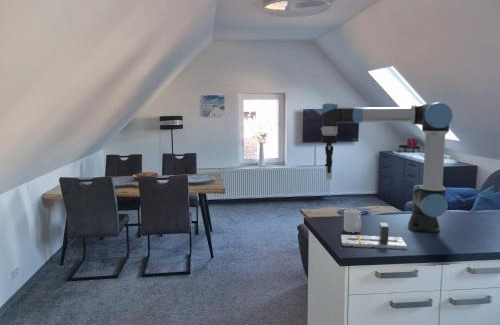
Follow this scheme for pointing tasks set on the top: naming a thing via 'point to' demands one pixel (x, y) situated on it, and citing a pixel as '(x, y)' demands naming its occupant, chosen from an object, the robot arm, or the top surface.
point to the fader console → (372, 242)
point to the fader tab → (384, 232)
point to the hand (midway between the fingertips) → (328, 177)
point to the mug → (352, 220)
